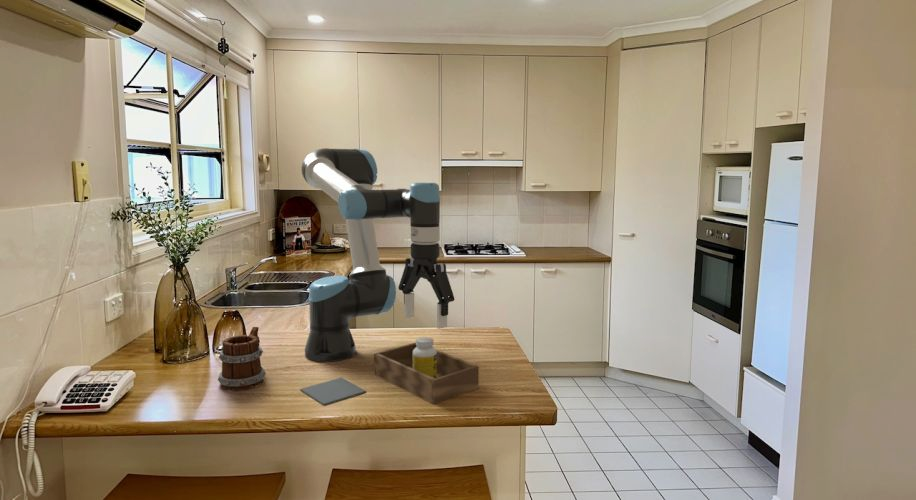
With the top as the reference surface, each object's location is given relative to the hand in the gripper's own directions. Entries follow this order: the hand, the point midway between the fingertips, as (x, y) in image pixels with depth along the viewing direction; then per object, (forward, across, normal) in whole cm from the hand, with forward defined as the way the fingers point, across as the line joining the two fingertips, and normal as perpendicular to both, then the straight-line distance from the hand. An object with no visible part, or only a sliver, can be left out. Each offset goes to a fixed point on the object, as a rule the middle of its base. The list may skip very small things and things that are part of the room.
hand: (425, 322), depth 146 cm
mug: (+16, -32, -36) cm, 51 cm away
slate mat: (+16, -10, -22) cm, 29 cm away
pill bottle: (+17, 0, 0) cm, 17 cm away
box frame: (+16, 0, 0) cm, 16 cm away
